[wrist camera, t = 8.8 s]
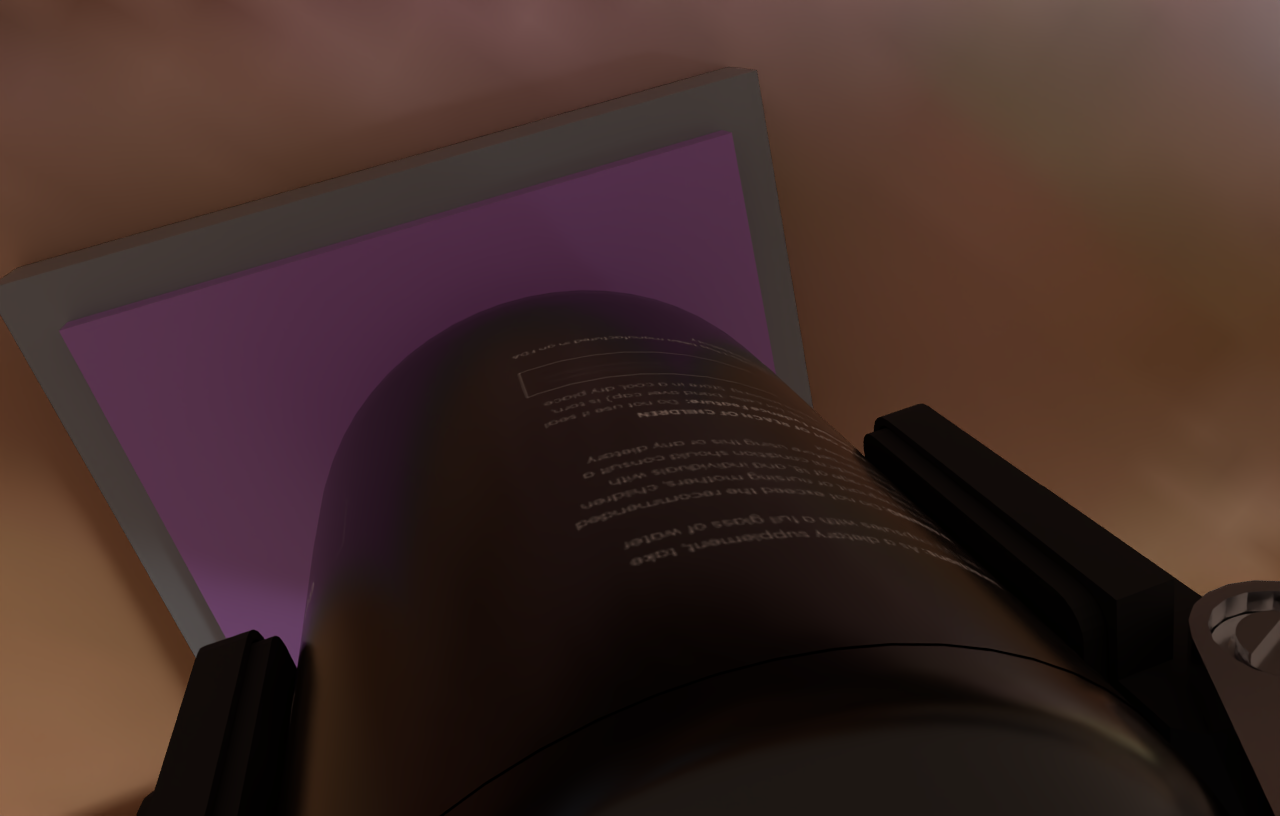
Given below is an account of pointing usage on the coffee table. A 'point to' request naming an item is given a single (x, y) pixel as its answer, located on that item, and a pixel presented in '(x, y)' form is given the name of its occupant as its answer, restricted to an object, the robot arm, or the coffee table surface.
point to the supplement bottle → (668, 605)
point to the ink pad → (377, 317)
